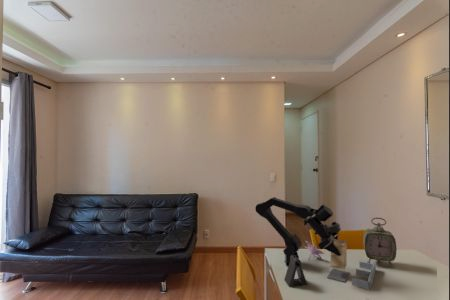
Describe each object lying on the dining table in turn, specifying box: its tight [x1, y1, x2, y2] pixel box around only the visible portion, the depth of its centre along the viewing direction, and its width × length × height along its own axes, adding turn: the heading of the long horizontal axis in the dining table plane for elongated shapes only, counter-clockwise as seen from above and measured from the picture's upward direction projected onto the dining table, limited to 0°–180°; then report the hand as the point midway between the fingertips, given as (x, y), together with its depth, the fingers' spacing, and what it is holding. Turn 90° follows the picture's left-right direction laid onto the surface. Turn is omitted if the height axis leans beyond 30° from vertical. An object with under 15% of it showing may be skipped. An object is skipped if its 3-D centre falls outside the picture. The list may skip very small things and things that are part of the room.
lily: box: [304, 240, 326, 260], centre depth 149 cm, size 12×12×10 cm
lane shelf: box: [351, 260, 377, 290], centre depth 127 cm, size 7×22×4 cm, turn 145°
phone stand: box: [284, 255, 309, 288], centre depth 123 cm, size 9×6×12 cm, turn 97°
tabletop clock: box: [362, 217, 397, 268], centre depth 142 cm, size 14×9×25 cm, turn 68°
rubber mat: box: [326, 268, 350, 283], centre depth 129 cm, size 8×11×1 cm
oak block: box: [330, 239, 348, 271], centre depth 129 cm, size 6×6×12 cm
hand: (341, 253), depth 128 cm, fingers closed on oak block, 6 cm apart
